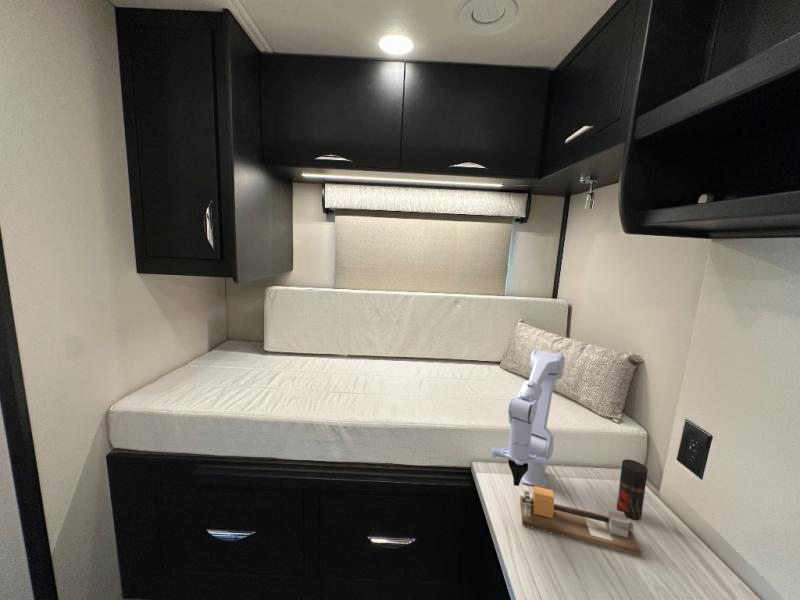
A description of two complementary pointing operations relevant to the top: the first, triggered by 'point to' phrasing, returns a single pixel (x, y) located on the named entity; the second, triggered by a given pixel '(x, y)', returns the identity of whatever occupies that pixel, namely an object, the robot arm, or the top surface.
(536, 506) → the orange notched block
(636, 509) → the deodorant
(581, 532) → the cord board
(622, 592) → the top surface
